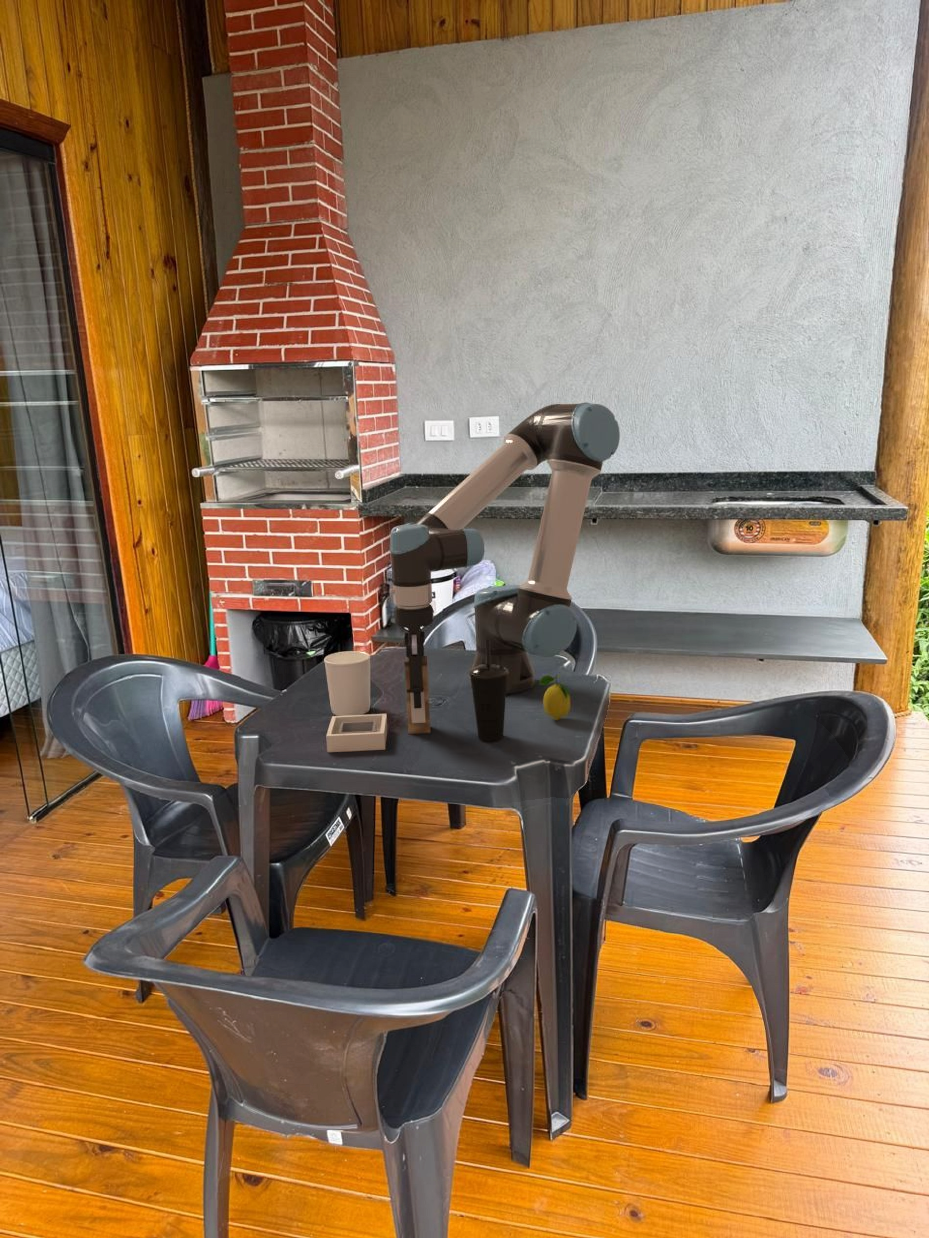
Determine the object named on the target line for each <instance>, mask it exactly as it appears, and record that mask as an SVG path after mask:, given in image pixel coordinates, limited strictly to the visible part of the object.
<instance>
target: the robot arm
mask: <svg viewBox="0 0 929 1238" xmlns="http://www.w3.org/2000/svg"><path fill="white" fill-rule="evenodd" d="M615 417H616V416H615V414H614V413H613V412H612V410H610V409H609V408H608V407H607V406H605V405H602V404H600V403H591V402H582V403H564V404H561V403H554V404H550V405H546V406H544V407H542V408H540V409H537V410H536V411H535V412H533V413H531V414H530V415H528V417H526V418H525V419H524V420H522V421H521V422H520V423H519V424H518V425H516V426H515V427H513V429H512V430H511V431H510V432H509V433H507V434H506V435H505V437H504V438H503V444H502V445H501V446H500V447H498V449H496V450H495V451H494V452H493V453H492V454H491V455H490V456H488V458H486V459H485V460H484V461H483V462H482V463H481V464H480V465H479V466H478V467H477V468H476V469H474V470H473V471H472V472H471V473H470V474H469V475H468V476H466V478H465V479H464V480H462V482H460V483H459V484H458V485H457V486H456V487H454V489H452V490H451V491H450V492H449V493H448V494H447V495H445V497H444V498H443V499H441V500H440V501H439V502H438V503H437V504H436V505H434V507H433V508H431V510H429V511H428V512H427V513H426V514H425V515H424V516H423V517H422V518H420V519H419V520H418V521H417V522H414V521H413V522H408V523H405V524H401V525H397V526H394V527H393V528H392V529H391V531H390V533H389V534H390V538H389V539H390V540H389V553H390V562H391V563H390V564H391V577H392V588H390V590H389V594H392V595H393V596H392V597H393V604H394V608H393V613H394V614H393V616H394V624H395V626H397V627H399V628H401V629H403V628H406V629H407V631H405V632H404V640H403V641H404V645H405V650H406V655H405V656H406V657H408V658H409V673H410V689H407V693H410V698H411V716H412V723H425V722H426V721H425V701H424V687H423V676H422V657H423V656H425V642H426V640H425V639H426V638H425V630H424V631H423V630H422V628H425V627H429V626H430V625H432V624H433V622H434V616H433V615H434V613H433V612H434V611H433V605H432V602H433V586H432V585H433V584H432V573H433V572H440V571H446V570H452V569H453V570H454V569H459V568H464V569H465V568H466V569H467V568H468V567H472V566H476V565H479V564H480V563H481V562H482V561H483V559H484V555H485V541H484V539H483V536H482V534H481V533H480V531H478V530H477V529H475V528H465V527H466V526H467V525H468V524H469V523H470V522H471V521H472V520H474V519H475V517H477V516H478V515H480V513H481V512H482V511H483V510H485V508H487V507H488V506H489V505H490V504H491V503H492V502H493V501H494V500H495V499H496V498H498V496H499V495H501V494H502V493H503V492H504V491H505V490H506V489H507V488H508V487H510V486H511V485H512V484H513V482H515V481H516V480H517V479H518V478H519V477H521V476H522V474H524V472H526V471H533V470H534V469H535V468H537V467H538V466H539V465H540V464H542V463H544V462H546V463H547V464H548V466H549V467H550V469H551V470H550V471H551V474H550V480H549V483H548V489H547V494H546V497H545V502H544V506H543V511H542V516H541V520H540V523H539V528H538V534H537V537H536V538H537V539H536V542H535V546H534V551H533V555H532V560H531V564H530V569H529V574H528V577H527V578H528V579H527V580H526V581H525V582H524V583H522V584H521V585H520V584H510V585H507V584H506V585H499V586H498V585H497V586H490V587H485V588H484V587H483V588H481V589H479V590H477V591H476V592H475V595H474V601H473V602H474V603H473V608H474V623H475V624H474V626H475V629H474V630H475V656H474V658H473V659H474V660H473V662H472V667H471V669H472V668H474V667H477V666H479V665H482V664H487V663H486V639H489V647H490V664H496V665H499V666H502V667H505V668H507V669H508V675H507V682H506V695H508V694H509V695H510V694H516V693H522V692H525V691H527V690H530V689H532V688H534V687H535V684H536V680H535V679H536V678H535V677H536V675H535V672H534V669H533V666H532V663H531V660H530V657H529V654H530V655H531V656H538V657H544V658H551V657H555V656H556V657H557V656H559V654H561V653H562V652H563V651H566V649H567V648H568V647H570V645H571V643H572V642H573V640H574V638H575V635H576V633H577V627H578V626H577V625H578V624H577V619H576V618H575V613H574V612H573V610H572V609H571V604H572V599H573V598H572V596H571V594H570V593H569V591H568V585H569V581H570V576H571V571H572V567H573V563H574V559H575V554H576V550H577V545H578V542H579V537H580V532H581V527H582V523H583V519H584V513H585V510H586V507H587V501H588V498H589V497H588V496H589V493H590V489H591V484H592V481H593V479H594V478H596V477H597V476H599V475H600V474H601V473H602V468H603V464H604V462H605V461H607V460H609V459H610V458H611V457H612V456H613V455H615V453H616V452H617V450H618V447H619V443H620V441H621V440H620V438H621V433H620V432H621V431H620V426H619V423H618V421H617V419H616V418H615ZM469 687H470V688H471V689H472V684H471V677H470V676H469Z"/></svg>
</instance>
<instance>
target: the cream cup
mask: <svg viewBox="0 0 929 1238" xmlns="http://www.w3.org/2000/svg"><path fill="white" fill-rule="evenodd" d="M323 662H324V666H325V667H324V668H325V674H326V681H327V683H326V684H327V688H328V696H329V701H330V702H329V703H330V709H331V713H332V715H333V716H334V715H335V716H348V715H366V714H367V713H368V712H369V711H370V709H371V655H370V654H369V653H368V652H364V651H357V650H355V651H354V650H350V651H348V650H347V651H338V652H334V653H330V654H328V655H326V656H325V657H324V659H323Z"/></svg>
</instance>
